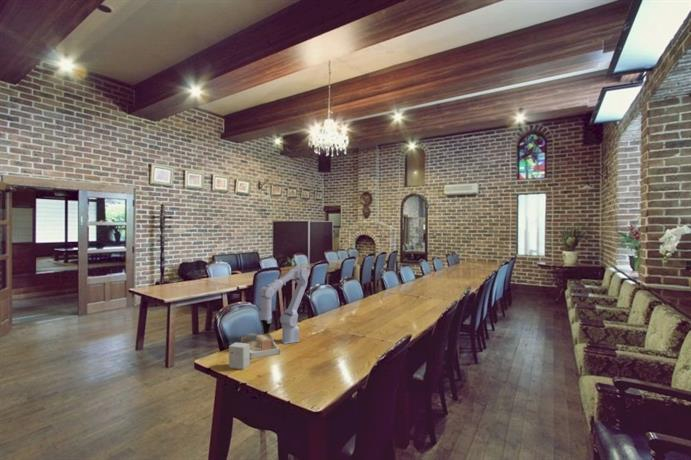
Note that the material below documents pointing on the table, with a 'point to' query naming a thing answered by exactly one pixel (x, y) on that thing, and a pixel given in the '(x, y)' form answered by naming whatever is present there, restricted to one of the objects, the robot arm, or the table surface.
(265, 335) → the bench plate
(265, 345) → the terracotta tile
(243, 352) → the small box
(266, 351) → the tray
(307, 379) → the table surface
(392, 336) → the table surface
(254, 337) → the slate tile
